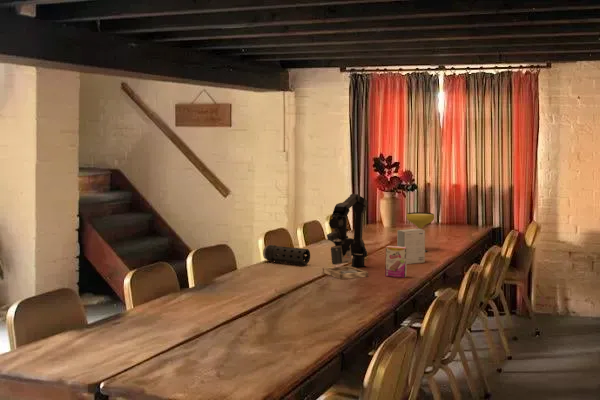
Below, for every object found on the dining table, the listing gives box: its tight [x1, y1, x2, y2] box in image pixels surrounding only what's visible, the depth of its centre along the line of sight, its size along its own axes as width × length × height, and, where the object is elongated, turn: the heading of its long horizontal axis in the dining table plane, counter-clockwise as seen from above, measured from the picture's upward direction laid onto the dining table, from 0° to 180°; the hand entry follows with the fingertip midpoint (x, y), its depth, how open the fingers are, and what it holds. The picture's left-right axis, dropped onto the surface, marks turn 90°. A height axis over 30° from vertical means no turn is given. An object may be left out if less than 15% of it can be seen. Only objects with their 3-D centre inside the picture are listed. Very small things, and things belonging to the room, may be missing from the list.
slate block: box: [341, 270, 358, 274], centre depth 405 cm, size 8×5×3 cm, turn 106°
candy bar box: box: [384, 245, 408, 279], centre depth 405 cm, size 11×5×16 cm, turn 71°
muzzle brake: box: [262, 244, 311, 267], centre depth 442 cm, size 10×28×10 cm, turn 59°
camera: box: [330, 245, 353, 265], centre depth 413 cm, size 11×6×10 cm, turn 114°
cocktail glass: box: [406, 211, 435, 253], centre depth 494 cm, size 18×18×25 cm
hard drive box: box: [396, 228, 426, 265], centre depth 450 cm, size 16×8×20 cm, turn 115°
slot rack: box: [322, 265, 369, 280], centre depth 409 cm, size 17×20×2 cm
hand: (341, 254), depth 413 cm, fingers closed on camera, 5 cm apart
